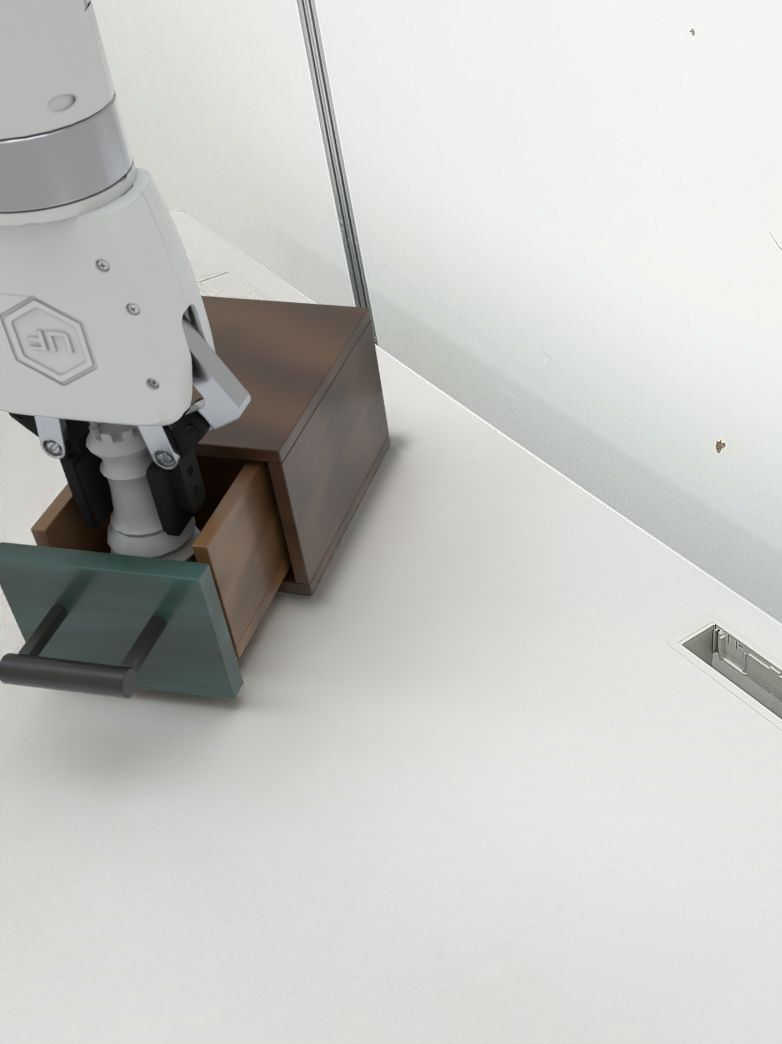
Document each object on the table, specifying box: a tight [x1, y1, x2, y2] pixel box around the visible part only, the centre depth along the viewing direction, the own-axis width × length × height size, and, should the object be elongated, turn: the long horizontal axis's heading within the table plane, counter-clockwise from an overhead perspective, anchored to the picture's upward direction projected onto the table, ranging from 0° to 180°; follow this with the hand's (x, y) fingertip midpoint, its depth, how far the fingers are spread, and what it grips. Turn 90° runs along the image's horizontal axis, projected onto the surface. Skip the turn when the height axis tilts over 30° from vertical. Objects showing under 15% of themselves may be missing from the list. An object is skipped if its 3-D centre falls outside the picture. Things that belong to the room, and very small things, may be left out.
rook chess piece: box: [86, 422, 200, 561], centre depth 62 cm, size 4×4×8 cm
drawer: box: [0, 455, 292, 700], centre depth 64 cm, size 18×10×8 cm, turn 170°
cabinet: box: [169, 295, 391, 596], centre depth 72 cm, size 15×12×10 cm
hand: (145, 511), depth 63 cm, fingers closed on rook chess piece, 3 cm apart
